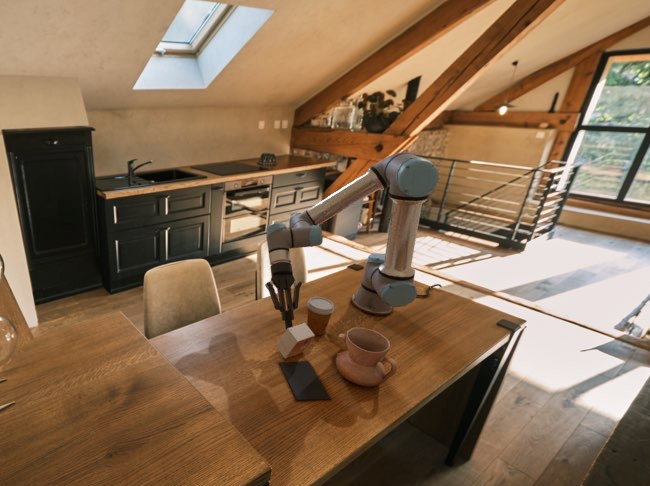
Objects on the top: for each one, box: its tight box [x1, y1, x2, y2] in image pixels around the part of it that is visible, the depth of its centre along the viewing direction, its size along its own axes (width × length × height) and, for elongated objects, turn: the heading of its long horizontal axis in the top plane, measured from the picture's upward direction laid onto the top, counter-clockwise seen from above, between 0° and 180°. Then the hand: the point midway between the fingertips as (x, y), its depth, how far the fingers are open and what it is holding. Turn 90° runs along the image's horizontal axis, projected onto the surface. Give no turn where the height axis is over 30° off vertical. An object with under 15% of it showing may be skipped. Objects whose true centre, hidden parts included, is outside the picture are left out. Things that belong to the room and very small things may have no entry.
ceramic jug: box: [335, 326, 398, 387], centre depth 119 cm, size 18×14×14 cm
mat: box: [278, 361, 331, 401], centre depth 119 cm, size 16×10×1 cm, turn 4°
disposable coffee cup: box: [306, 296, 335, 336], centre depth 141 cm, size 10×10×12 cm
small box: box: [275, 322, 316, 360], centre depth 128 cm, size 8×6×10 cm
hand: (289, 330), depth 130 cm, fingers closed
